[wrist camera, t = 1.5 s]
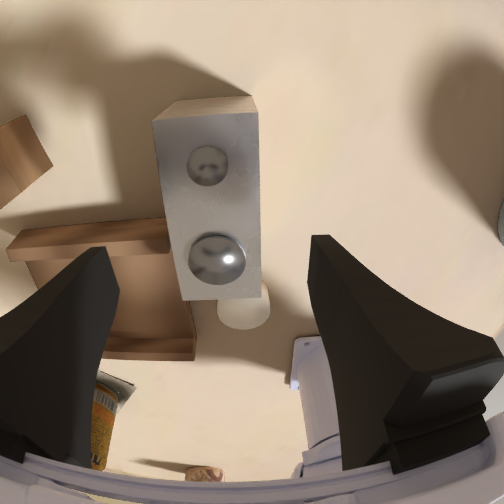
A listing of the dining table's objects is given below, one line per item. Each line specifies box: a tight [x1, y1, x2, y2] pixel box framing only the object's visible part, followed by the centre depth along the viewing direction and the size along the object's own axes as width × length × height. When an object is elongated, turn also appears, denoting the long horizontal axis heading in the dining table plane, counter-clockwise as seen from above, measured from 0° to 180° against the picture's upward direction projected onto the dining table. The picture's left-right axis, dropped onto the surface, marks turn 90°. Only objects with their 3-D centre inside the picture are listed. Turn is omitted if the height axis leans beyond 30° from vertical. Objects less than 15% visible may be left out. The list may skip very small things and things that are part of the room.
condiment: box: [91, 370, 136, 471], centre depth 26 cm, size 7×8×12 cm
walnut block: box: [0, 115, 53, 209], centre depth 15 cm, size 4×4×4 cm
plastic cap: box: [217, 280, 270, 330], centre depth 23 cm, size 4×4×2 cm
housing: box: [152, 96, 261, 301], centre depth 16 cm, size 4×9×6 cm, turn 2°
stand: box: [6, 217, 197, 361], centre depth 21 cm, size 12×11×2 cm
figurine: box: [185, 466, 225, 482], centre depth 43 cm, size 7×7×12 cm
